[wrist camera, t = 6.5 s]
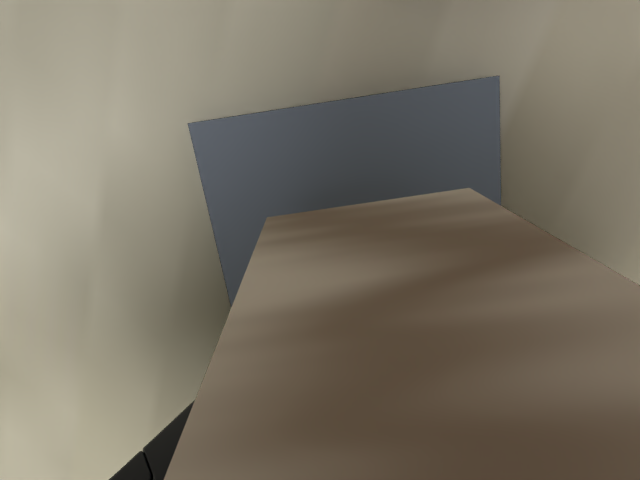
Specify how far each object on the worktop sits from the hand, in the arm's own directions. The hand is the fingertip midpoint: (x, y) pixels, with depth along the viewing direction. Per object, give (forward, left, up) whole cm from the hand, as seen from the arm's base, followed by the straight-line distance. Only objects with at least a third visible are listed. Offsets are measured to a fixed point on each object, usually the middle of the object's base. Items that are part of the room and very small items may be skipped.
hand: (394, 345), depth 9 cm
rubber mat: (0, 0, -7) cm, 7 cm away
